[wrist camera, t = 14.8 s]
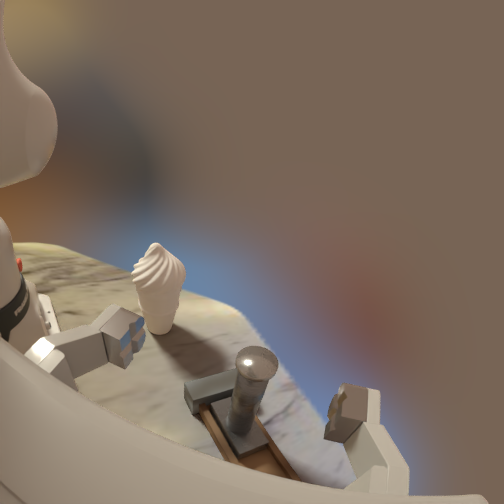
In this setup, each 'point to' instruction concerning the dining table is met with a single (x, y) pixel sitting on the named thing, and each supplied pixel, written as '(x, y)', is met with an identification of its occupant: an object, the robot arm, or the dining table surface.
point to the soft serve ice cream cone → (158, 287)
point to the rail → (199, 401)
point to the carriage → (246, 401)
